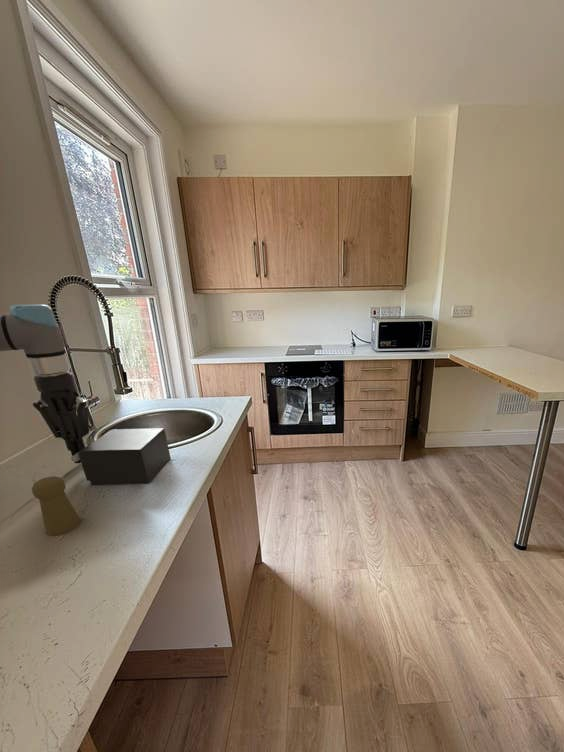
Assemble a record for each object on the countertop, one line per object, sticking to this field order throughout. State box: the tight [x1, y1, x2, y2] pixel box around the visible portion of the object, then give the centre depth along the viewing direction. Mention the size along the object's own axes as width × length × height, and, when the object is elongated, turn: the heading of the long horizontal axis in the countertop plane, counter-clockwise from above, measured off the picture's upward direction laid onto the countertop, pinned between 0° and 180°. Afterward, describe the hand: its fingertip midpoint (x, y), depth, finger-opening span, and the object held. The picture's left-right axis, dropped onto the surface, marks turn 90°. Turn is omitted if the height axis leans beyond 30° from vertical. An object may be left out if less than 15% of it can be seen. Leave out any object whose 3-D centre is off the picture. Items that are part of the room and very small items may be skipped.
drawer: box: [70, 452, 90, 482], centre depth 91 cm, size 18×12×8 cm
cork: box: [31, 475, 82, 537], centre depth 70 cm, size 6×6×11 cm
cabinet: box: [80, 427, 172, 486], centre depth 91 cm, size 15×14×10 cm
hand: (80, 460), depth 92 cm, fingers closed
